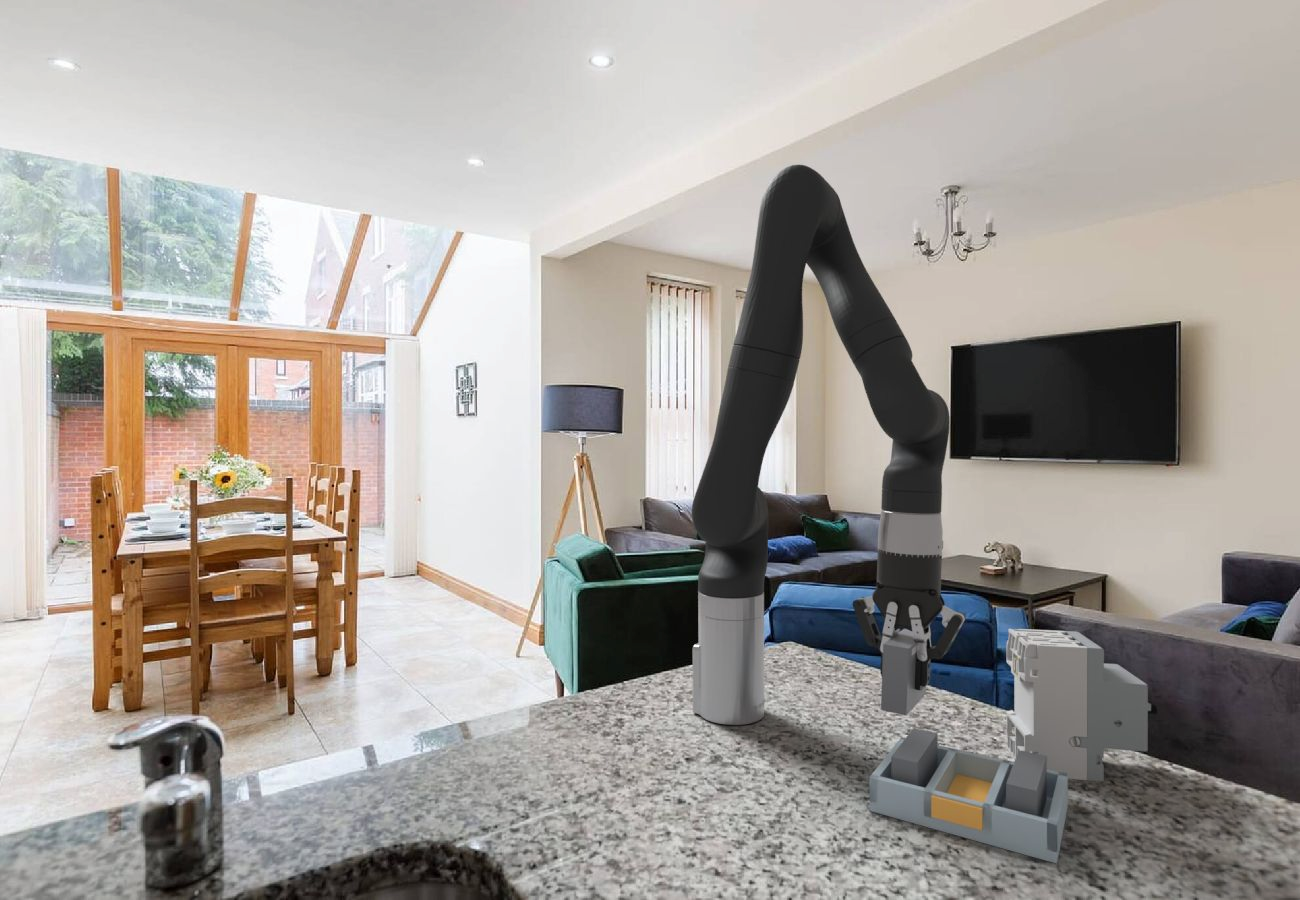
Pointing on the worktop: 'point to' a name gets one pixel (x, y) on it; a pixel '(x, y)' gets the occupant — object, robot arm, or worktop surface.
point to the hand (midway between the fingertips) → (904, 684)
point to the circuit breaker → (1072, 702)
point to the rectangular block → (900, 674)
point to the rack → (973, 795)
